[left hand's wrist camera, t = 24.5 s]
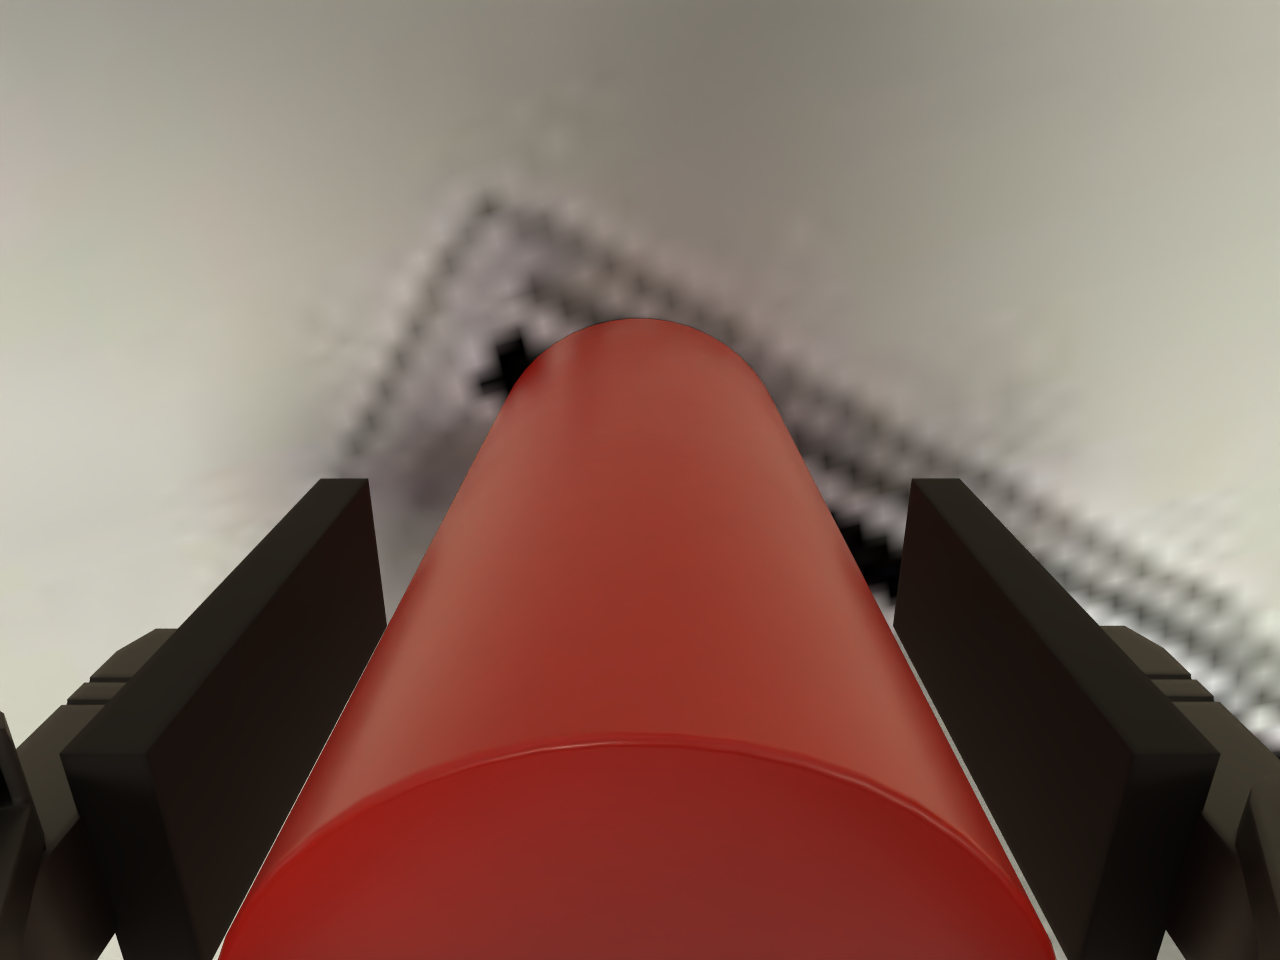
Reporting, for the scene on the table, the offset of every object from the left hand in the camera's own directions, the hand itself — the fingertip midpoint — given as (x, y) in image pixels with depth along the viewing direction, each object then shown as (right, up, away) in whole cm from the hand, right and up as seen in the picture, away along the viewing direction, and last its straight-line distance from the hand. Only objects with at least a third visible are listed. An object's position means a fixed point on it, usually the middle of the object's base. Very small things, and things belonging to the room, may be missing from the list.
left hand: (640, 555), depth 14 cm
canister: (0, +2, +4) cm, 4 cm away
